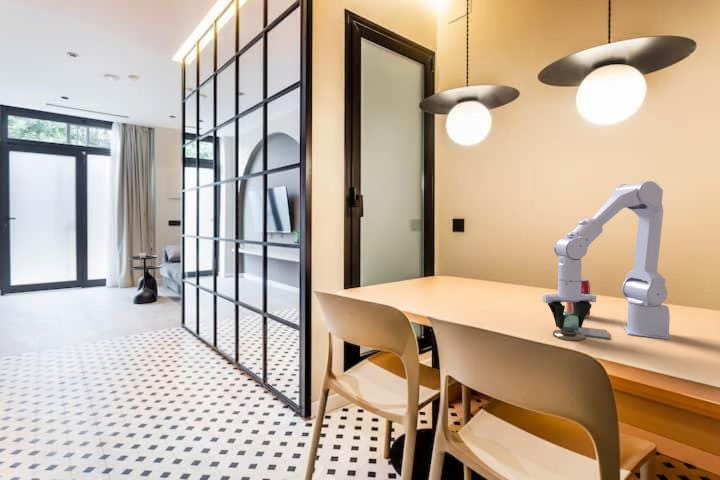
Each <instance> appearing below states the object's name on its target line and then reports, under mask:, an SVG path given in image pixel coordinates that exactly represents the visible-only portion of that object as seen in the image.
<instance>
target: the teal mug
mask: <svg viewBox="0 0 720 480" xmlns="http://www.w3.org/2000/svg"><path fill="white" fill-rule="evenodd" d="M558 330H564V331H569V332H577V331H579V314H577V313H574V312H566V311H565V310H564V313H563V326H562V328H558Z"/></svg>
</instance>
